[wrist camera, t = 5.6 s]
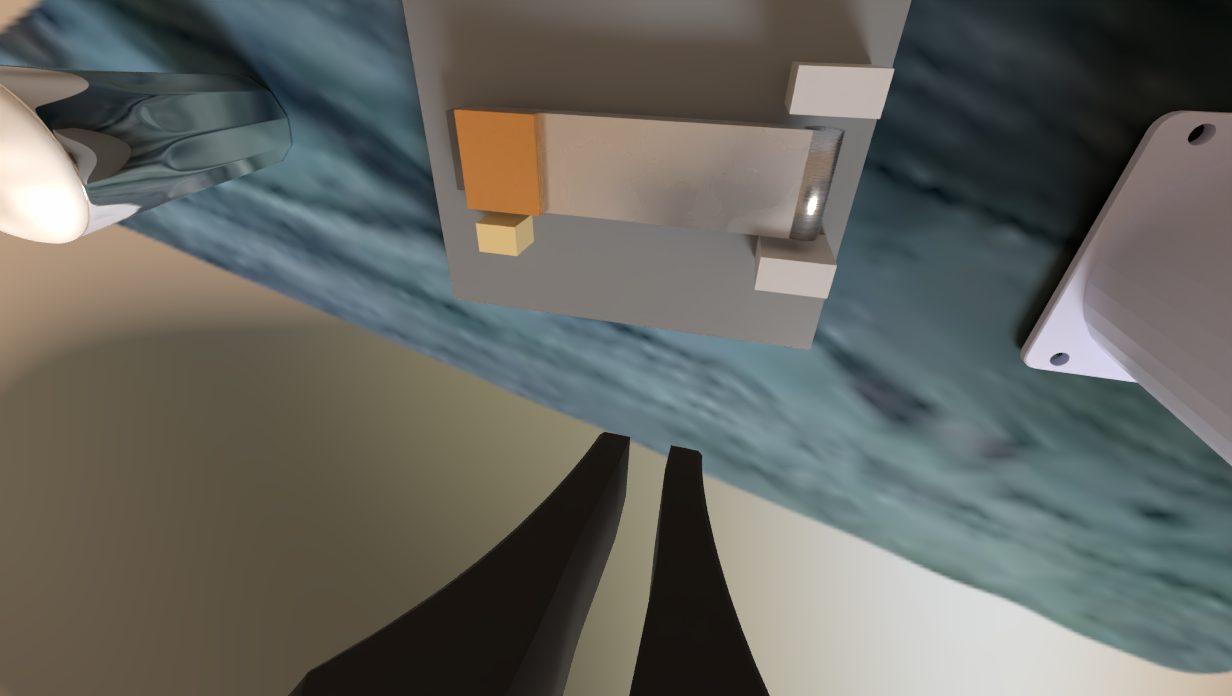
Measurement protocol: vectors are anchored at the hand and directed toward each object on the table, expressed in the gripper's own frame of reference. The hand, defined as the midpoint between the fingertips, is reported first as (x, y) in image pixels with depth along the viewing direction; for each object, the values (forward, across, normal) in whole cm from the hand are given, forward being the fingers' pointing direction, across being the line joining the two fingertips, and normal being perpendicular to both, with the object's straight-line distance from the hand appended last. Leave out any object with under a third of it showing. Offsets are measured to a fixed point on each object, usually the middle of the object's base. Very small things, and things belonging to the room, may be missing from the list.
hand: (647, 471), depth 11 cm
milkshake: (+9, +19, -5) cm, 21 cm away
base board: (+9, +3, -5) cm, 11 cm away
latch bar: (+7, +2, -5) cm, 9 cm away
